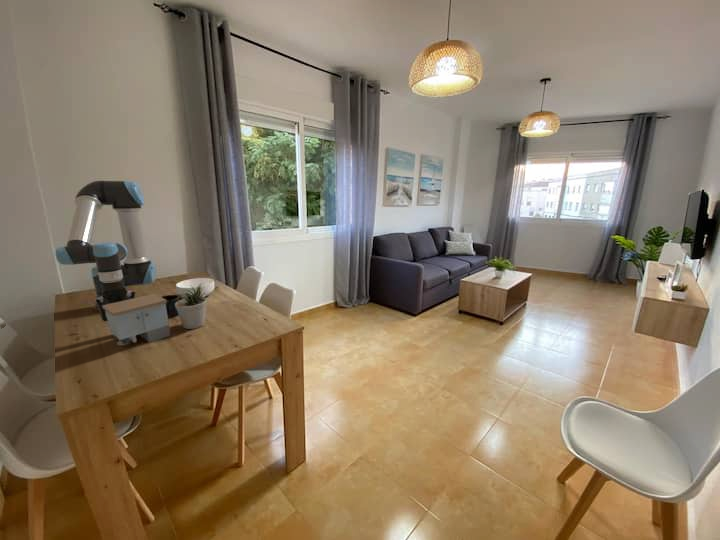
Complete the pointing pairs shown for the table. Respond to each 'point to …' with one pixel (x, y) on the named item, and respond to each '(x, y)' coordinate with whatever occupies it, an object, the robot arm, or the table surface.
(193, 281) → the bowl
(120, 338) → the cabinet
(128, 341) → the token
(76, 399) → the table surface
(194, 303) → the potted plant
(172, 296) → the mug
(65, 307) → the table surface
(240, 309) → the table surface
